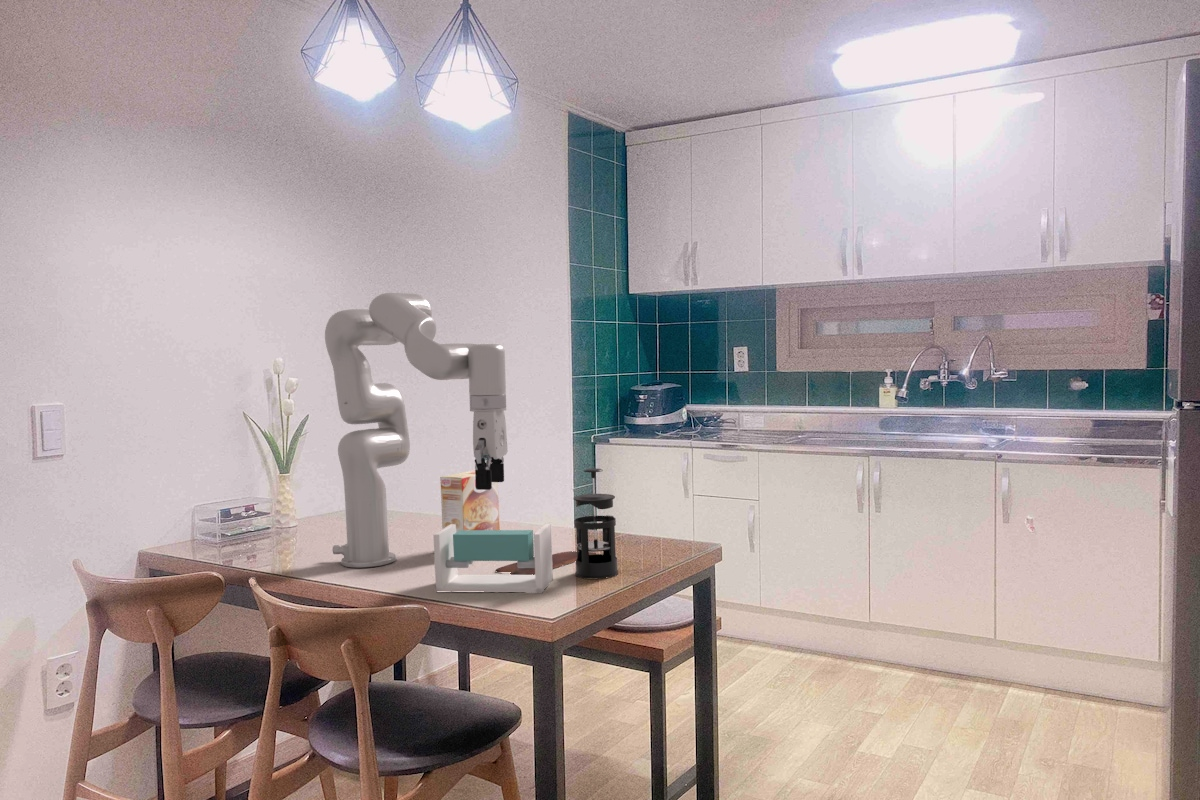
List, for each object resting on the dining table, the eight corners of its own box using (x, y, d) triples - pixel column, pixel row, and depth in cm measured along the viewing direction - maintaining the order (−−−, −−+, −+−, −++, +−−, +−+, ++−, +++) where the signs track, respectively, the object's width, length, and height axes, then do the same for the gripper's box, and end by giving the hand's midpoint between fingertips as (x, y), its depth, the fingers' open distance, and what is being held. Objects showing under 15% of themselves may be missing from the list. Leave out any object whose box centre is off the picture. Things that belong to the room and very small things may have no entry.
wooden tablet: (571, 546, 221) (601, 545, 215) (572, 555, 221) (603, 555, 215) (491, 568, 201) (522, 569, 195) (492, 578, 201) (523, 579, 195)
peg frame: (436, 592, 185) (433, 534, 184) (452, 579, 196) (450, 524, 195) (541, 593, 182) (539, 534, 181) (553, 579, 192) (550, 523, 192)
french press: (602, 581, 189) (598, 472, 188) (565, 577, 194) (561, 471, 193) (630, 569, 199) (626, 465, 198) (594, 565, 204) (590, 464, 203)
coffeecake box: (465, 558, 215) (462, 477, 214) (442, 556, 219) (438, 476, 218) (501, 546, 228) (498, 469, 227) (479, 544, 232) (475, 468, 231)
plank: (533, 556, 190) (532, 530, 189) (529, 560, 185) (528, 534, 185) (460, 555, 192) (459, 530, 192) (454, 560, 188) (452, 534, 187)
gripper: (494, 406, 178) (496, 492, 179) (515, 400, 195) (518, 479, 196) (457, 406, 179) (460, 492, 180) (482, 401, 196) (484, 479, 197)
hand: (490, 485), depth 188 cm, fingers open, 9 cm apart
